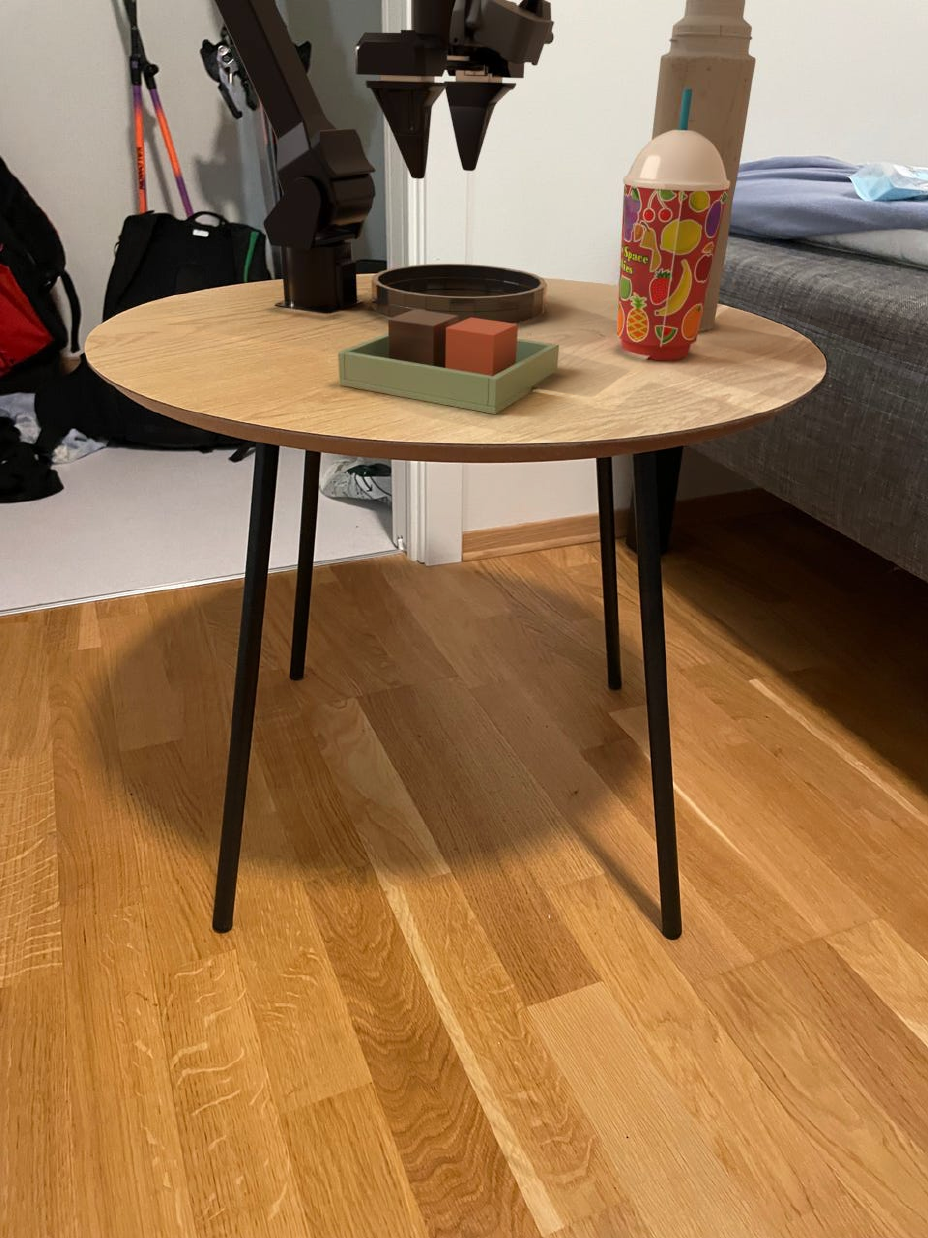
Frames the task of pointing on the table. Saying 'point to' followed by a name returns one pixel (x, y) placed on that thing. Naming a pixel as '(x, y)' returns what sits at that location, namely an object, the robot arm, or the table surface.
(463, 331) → the terracotta block
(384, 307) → the pan
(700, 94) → the thermos bottle
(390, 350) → the walnut block
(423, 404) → the table surface
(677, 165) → the smoothie
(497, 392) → the tray
